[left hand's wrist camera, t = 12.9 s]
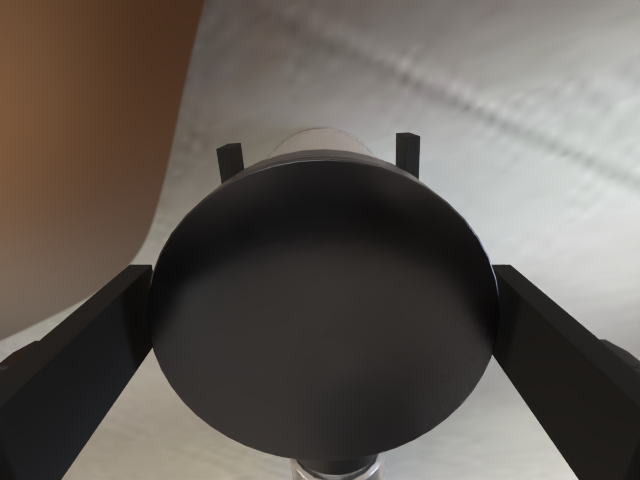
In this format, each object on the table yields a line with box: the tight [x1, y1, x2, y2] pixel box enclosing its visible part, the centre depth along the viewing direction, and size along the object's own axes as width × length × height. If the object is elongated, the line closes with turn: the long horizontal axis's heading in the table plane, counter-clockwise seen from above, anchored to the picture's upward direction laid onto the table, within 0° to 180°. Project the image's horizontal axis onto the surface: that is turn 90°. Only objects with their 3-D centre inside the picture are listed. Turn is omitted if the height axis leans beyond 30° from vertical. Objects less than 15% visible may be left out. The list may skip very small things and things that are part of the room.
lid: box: [147, 149, 500, 461], centre depth 12 cm, size 10×10×2 cm
